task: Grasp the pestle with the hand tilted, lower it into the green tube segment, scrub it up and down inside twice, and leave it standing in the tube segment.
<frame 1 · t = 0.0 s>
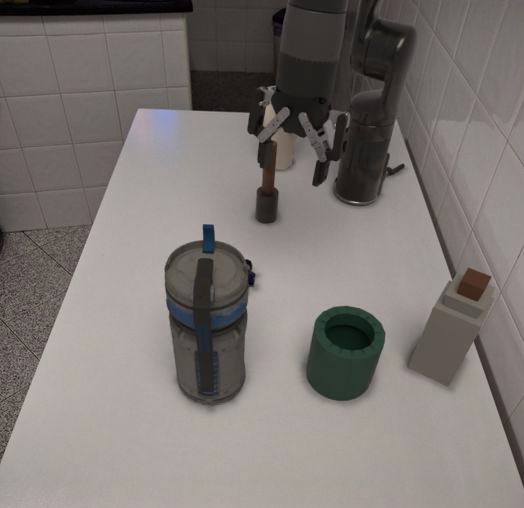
hand: (290, 175, 74), 22 cm above the table, tool pointing down, fingers open, 8 cm apart
beverage bottle: (211, 385, 77), on the table
perfume bottle: (434, 363, 82), on the table
pestle: (266, 217, 105), on the table
metal cup with utensils: (280, 164, 118), on the table
toy car: (222, 279, 92), on the table
green tube segment: (338, 374, 79), on the table
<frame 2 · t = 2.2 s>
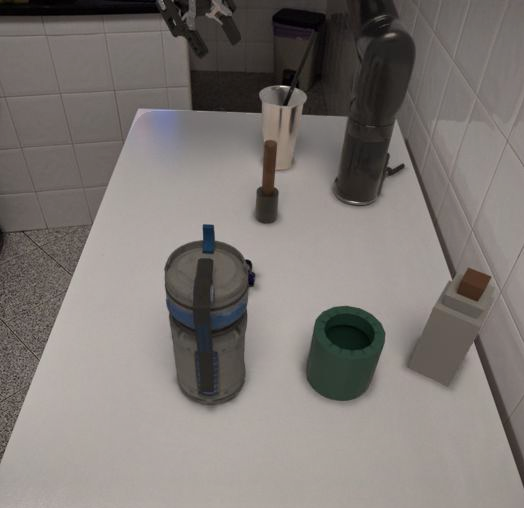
hand: (221, 49, 87), 29 cm above the table, tool tilted 45°, fingers open, 8 cm apart
nothing on the table moved.
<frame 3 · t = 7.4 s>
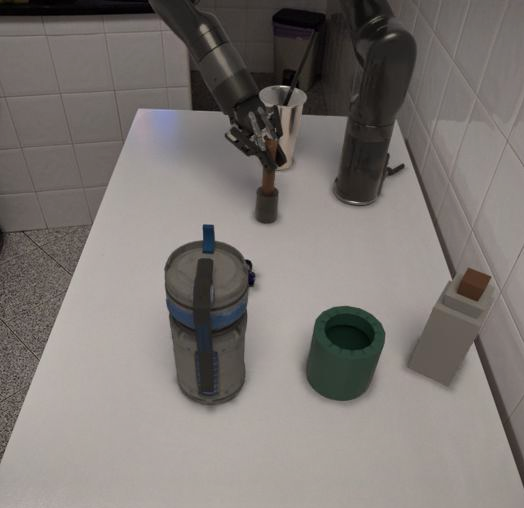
hand: (278, 167, 95), 12 cm above the table, tool tilted 45°, fingers closed on pestle, 2 cm apart
pestle: (266, 217, 105), on the table, touching gripper
everything else where it was.
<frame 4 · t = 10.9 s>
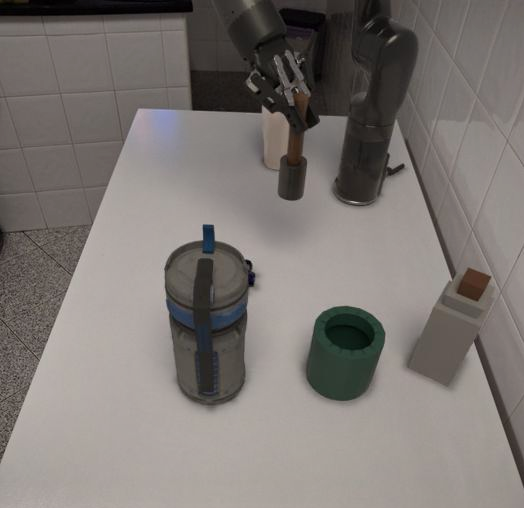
hand: (308, 128, 76), 26 cm above the table, tool tilted 45°, fingers closed on pestle, 2 cm apart
pestle: (290, 193, 86), point 14 cm above the table, touching gripper
everything else where it was.
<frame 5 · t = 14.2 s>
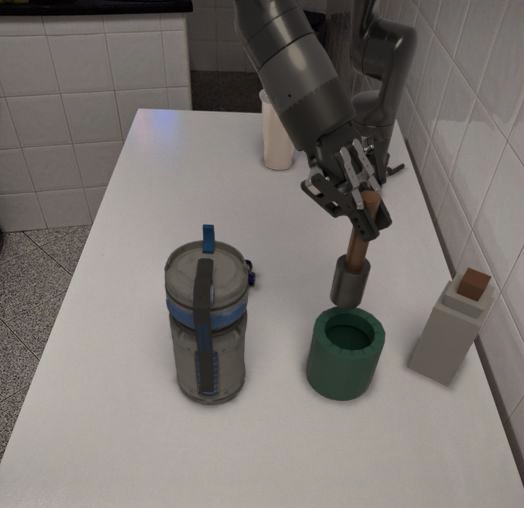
hand: (378, 232, 60), 26 cm above the table, tool tilted 45°, fingers closed on pestle, 2 cm apart
pestle: (345, 297, 70), point 14 cm above the table, touching gripper
everything else where it was.
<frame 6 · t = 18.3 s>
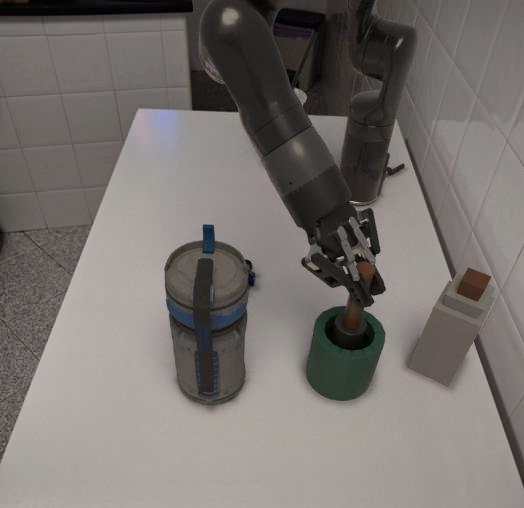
hand: (373, 298, 65), 17 cm above the table, tool tilted 45°, fingers closed on pestle, 2 cm apart
pestle: (343, 350, 75), point 6 cm above the table, touching gripper
everything else where it was.
when the fingers open (13 cm above the table, at t = 21.3 s): pestle stays where it is, resting on green tube segment.
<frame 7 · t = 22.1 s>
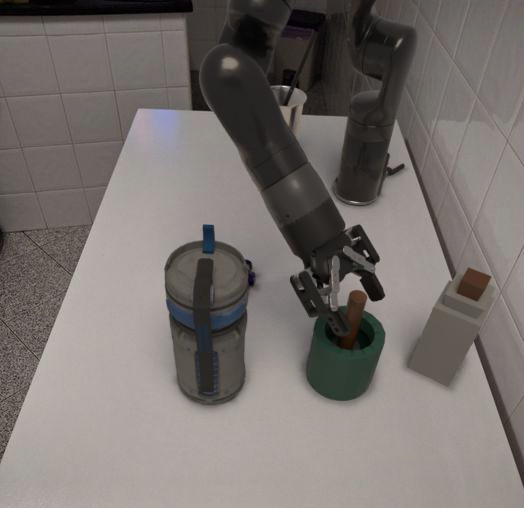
hand: (363, 316, 68), 14 cm above the table, tool tilted 45°, fingers open, 8 cm apart
pestle: (338, 371, 78), point 1 cm above the table, touching green tube segment
everything else where it was.
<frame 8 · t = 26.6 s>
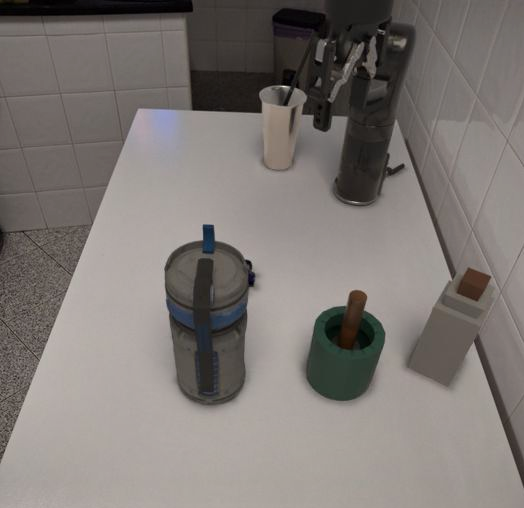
hand: (339, 117, 65), 32 cm above the table, tool pointing down, fingers open, 8 cm apart
nothing on the table moved.
at the end: pestle 0.1 cm off-centre in the green tube segment, point 0.8 cm above the green tube segment's base; the gripper is holding nothing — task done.
